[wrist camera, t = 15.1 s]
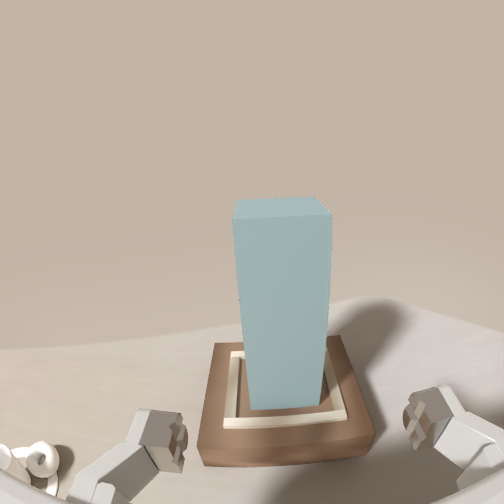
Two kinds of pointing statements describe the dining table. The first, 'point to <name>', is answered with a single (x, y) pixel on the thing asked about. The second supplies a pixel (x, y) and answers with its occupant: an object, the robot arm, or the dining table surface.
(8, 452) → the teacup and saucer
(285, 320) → the column
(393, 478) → the dining table surface
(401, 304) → the dining table surface
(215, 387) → the plinth
